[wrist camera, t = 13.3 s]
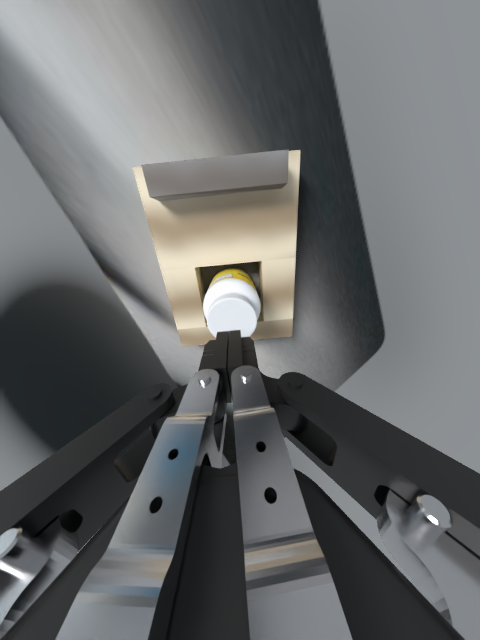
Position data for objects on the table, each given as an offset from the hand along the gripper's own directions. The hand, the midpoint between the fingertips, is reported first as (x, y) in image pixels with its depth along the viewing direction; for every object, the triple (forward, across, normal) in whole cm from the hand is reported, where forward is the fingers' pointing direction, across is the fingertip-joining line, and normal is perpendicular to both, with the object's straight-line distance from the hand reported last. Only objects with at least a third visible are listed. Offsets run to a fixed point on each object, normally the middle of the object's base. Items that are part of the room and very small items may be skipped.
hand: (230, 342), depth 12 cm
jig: (+12, 0, -3) cm, 13 cm away
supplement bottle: (+13, 0, 0) cm, 13 cm away
